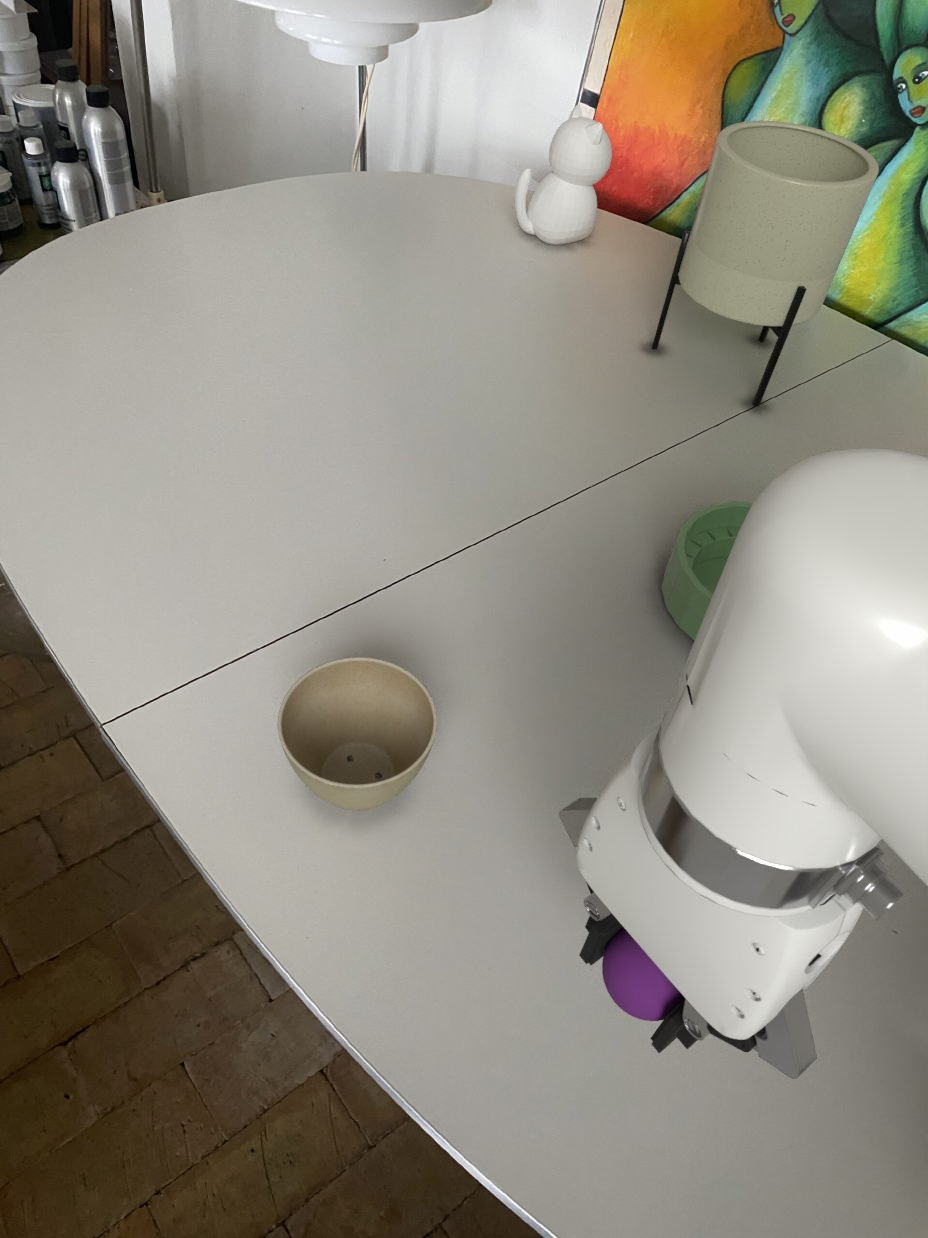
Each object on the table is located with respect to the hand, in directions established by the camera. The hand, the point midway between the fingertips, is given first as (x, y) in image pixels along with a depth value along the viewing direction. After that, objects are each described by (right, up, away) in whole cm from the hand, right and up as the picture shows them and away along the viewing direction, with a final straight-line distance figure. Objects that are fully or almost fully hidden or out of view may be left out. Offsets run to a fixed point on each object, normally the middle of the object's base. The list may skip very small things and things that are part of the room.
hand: (640, 984), depth 43 cm
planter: (+21, +47, +57) cm, 77 cm away
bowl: (+15, +19, +32) cm, 40 cm away
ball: (0, 0, 0) cm, 0 cm away
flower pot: (-16, +7, +18) cm, 25 cm away
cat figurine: (+3, +69, +74) cm, 102 cm away
